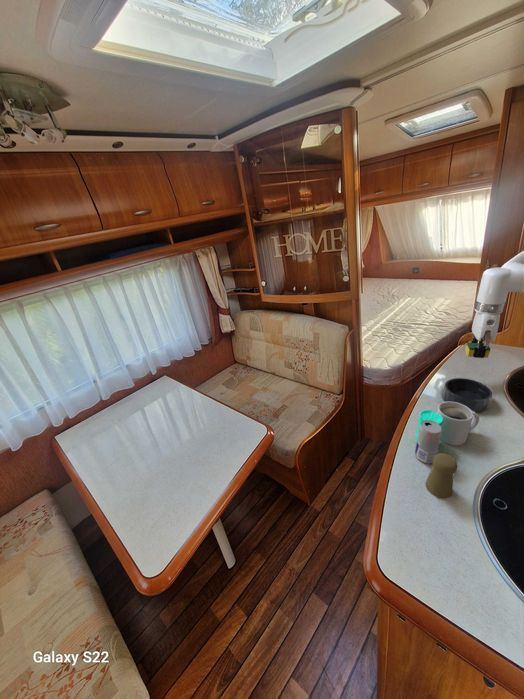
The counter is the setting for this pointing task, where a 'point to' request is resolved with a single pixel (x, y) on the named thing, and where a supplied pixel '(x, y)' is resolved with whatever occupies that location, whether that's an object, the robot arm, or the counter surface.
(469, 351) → the sponge
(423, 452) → the energy drink
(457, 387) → the bowl
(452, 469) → the cork
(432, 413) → the candle
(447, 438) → the mug
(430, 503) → the counter surface
